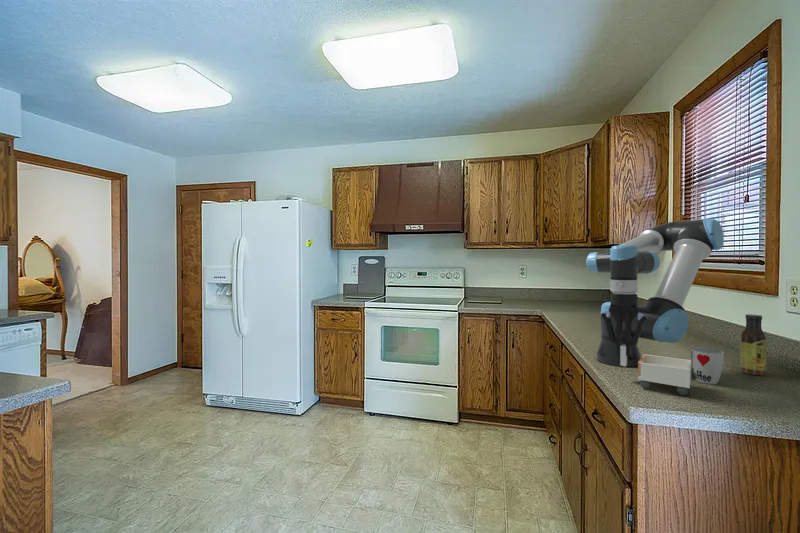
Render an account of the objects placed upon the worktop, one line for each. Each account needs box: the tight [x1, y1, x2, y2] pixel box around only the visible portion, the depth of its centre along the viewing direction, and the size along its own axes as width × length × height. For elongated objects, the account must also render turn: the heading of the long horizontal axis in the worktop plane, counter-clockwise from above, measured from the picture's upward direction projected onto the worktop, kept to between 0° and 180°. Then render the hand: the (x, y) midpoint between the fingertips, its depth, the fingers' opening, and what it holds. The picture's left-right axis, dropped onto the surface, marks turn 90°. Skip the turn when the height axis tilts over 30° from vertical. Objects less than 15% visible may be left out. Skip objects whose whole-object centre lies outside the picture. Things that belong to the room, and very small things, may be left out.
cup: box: [690, 346, 725, 385], centre depth 117 cm, size 8×8×10 cm
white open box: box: [637, 353, 692, 396], centre depth 113 cm, size 12×12×8 cm
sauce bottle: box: [739, 313, 767, 376], centre depth 124 cm, size 6×6×20 cm
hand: (623, 364), depth 120 cm, fingers closed
